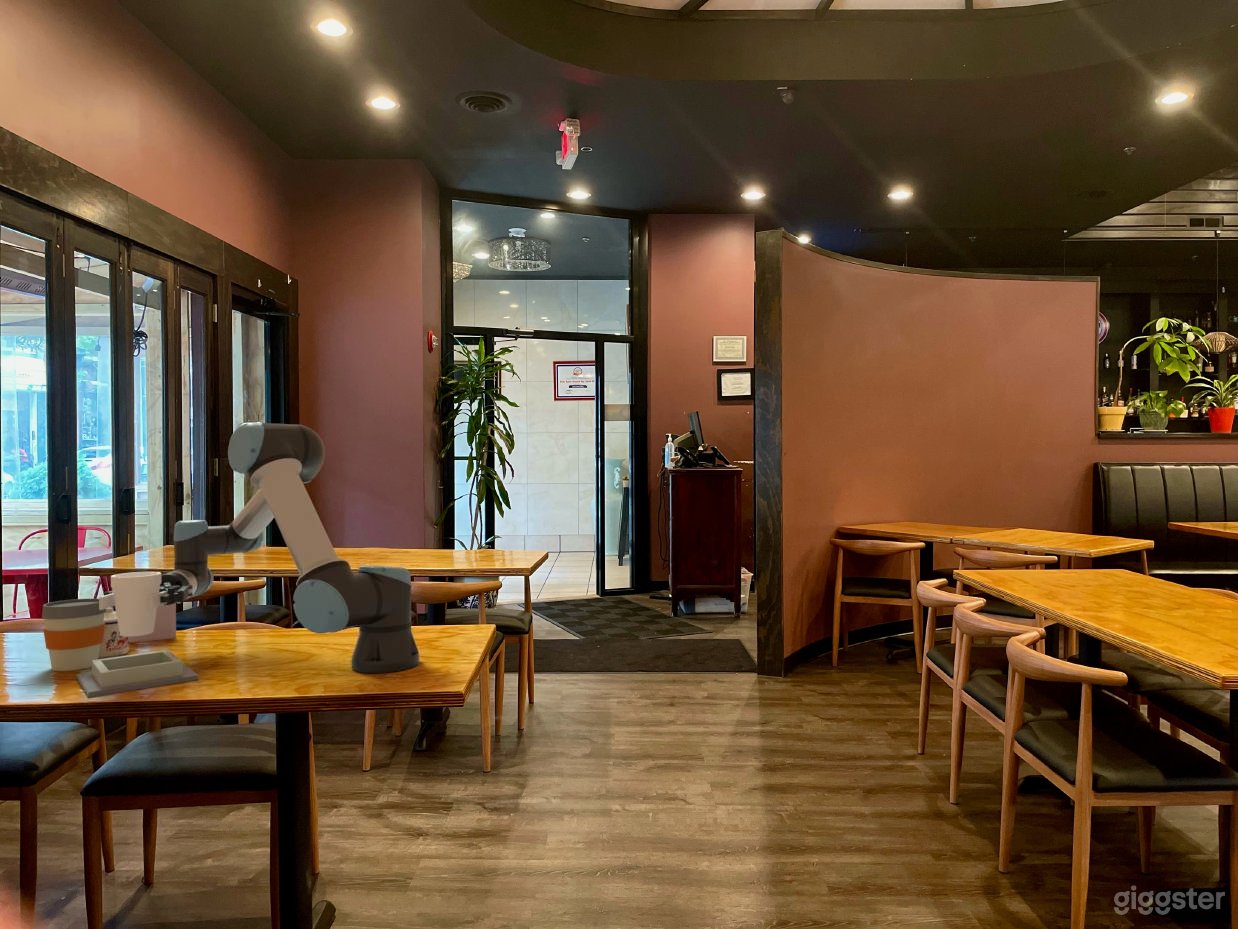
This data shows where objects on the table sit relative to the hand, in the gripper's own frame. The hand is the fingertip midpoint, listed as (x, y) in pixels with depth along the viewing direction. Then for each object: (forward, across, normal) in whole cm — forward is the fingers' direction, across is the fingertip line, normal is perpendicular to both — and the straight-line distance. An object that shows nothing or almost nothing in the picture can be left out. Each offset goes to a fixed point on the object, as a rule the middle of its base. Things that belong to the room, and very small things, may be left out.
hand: (126, 602), depth 169 cm
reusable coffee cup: (-19, +21, -18) cm, 33 cm away
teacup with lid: (-33, +19, -18) cm, 42 cm away
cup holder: (-4, 0, -18) cm, 18 cm away
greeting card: (-48, +17, -18) cm, 54 cm away
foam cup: (-5, 0, -8) cm, 9 cm away
